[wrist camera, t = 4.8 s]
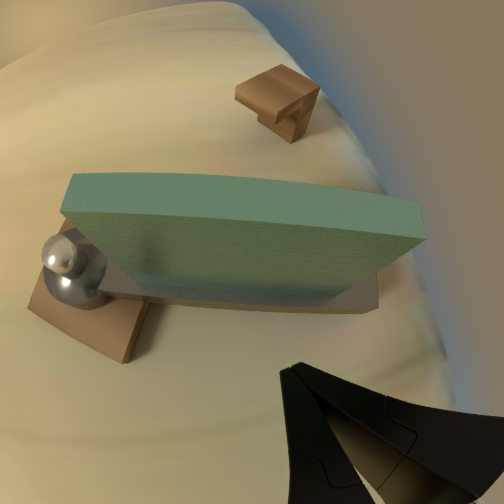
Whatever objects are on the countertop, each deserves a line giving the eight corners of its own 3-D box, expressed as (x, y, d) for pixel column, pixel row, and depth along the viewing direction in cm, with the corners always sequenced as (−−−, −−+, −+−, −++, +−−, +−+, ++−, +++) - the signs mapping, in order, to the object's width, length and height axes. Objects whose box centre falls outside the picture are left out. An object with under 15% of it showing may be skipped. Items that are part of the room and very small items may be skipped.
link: (54, 304, 14) (-58, 251, 5) (68, 238, 16) (-19, 151, 7) (362, 330, 15) (486, 294, 6) (359, 259, 17) (457, 174, 8)
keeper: (267, 162, 21) (277, 111, 16) (232, 137, 21) (235, 86, 16) (305, 132, 22) (320, 86, 17) (272, 110, 23) (281, 64, 18)
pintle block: (128, 363, 15) (121, 363, 14) (36, 311, 15) (27, 308, 14) (173, 244, 18) (170, 237, 17) (80, 211, 18) (73, 204, 17)
